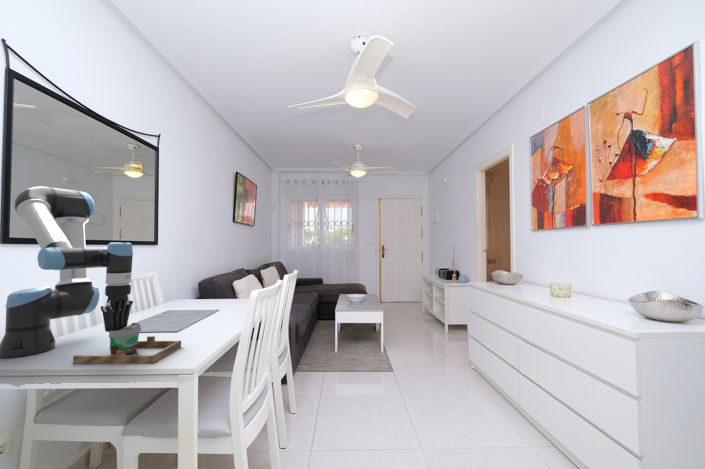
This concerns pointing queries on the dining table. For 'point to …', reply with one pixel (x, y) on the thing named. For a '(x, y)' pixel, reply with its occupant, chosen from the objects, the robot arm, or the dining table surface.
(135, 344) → the food container
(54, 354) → the dining table surface
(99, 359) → the slot rails
